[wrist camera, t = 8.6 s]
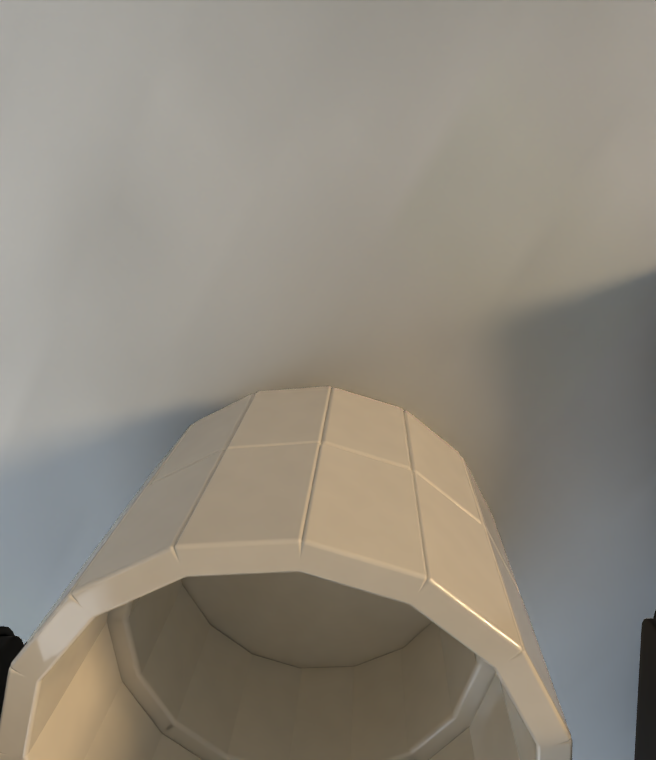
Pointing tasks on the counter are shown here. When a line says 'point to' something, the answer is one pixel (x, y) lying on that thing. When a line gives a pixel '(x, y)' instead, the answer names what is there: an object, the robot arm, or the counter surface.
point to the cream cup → (292, 606)
